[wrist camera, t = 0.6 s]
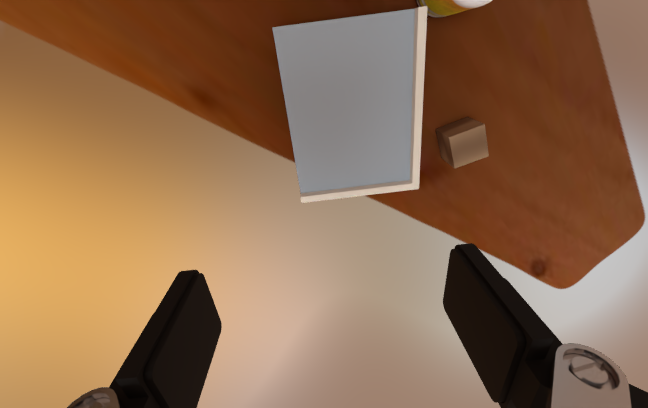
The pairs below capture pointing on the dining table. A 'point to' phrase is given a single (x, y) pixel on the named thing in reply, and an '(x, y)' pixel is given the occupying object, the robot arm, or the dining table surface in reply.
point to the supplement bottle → (449, 6)
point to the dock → (355, 102)
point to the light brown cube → (462, 142)
